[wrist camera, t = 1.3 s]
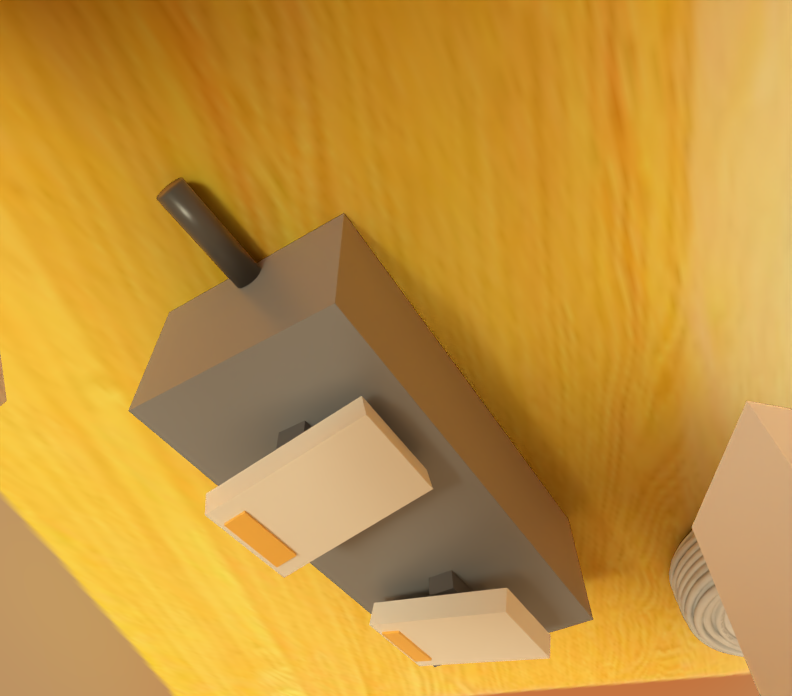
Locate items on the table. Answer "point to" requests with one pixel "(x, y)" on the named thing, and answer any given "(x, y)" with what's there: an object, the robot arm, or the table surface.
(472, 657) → the rocker
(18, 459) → the table surface
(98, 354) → the table surface
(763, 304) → the table surface
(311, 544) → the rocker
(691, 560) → the cable
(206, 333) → the rocker switch box
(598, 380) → the table surface
